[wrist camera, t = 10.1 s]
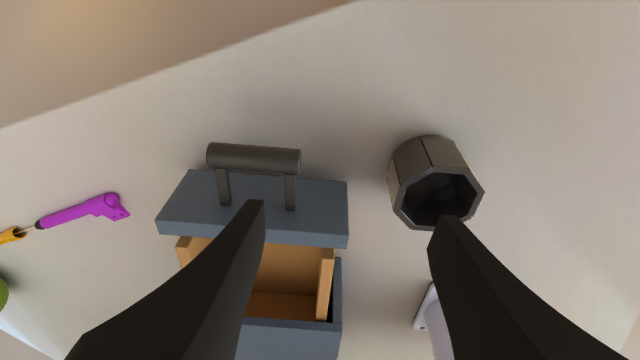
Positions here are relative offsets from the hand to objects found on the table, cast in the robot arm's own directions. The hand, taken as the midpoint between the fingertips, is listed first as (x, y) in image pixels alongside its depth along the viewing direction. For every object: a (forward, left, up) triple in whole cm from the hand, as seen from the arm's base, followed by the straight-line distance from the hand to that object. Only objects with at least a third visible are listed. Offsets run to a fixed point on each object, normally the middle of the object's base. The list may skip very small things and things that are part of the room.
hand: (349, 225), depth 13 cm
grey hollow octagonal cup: (-6, +3, -9) cm, 11 cm away
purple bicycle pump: (+24, +12, -10) cm, 29 cm away
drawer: (+5, +9, -9) cm, 13 cm away
